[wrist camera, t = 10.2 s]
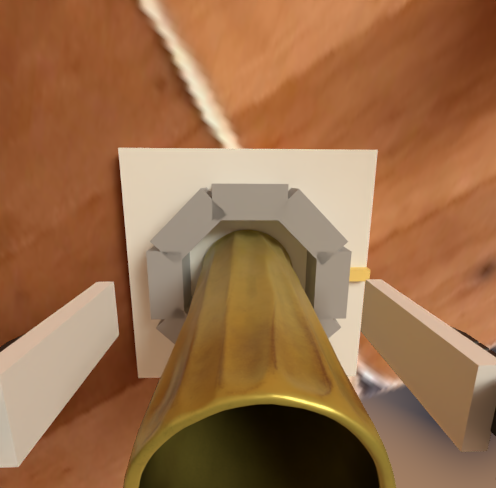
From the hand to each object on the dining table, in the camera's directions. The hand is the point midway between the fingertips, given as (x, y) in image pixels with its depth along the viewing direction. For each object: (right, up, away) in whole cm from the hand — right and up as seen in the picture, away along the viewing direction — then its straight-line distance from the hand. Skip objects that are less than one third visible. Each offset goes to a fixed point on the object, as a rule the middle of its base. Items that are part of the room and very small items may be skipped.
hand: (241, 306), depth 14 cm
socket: (0, +1, +7) cm, 7 cm away
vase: (0, +1, +6) cm, 6 cm away
